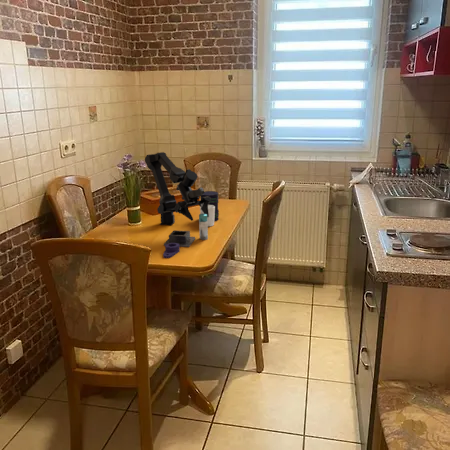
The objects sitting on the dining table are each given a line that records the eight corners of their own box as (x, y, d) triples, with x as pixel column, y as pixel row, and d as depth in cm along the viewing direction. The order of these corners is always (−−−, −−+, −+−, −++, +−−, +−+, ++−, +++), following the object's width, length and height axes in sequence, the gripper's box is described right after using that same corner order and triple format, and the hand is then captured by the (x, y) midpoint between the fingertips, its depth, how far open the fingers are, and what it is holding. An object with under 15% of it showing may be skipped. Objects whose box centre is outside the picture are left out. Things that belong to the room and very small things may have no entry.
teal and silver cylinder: (198, 239, 220) (198, 215, 217) (200, 237, 224) (200, 213, 221) (206, 240, 220) (206, 216, 216) (208, 237, 224) (208, 213, 220)
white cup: (217, 223, 247) (216, 205, 244) (212, 227, 240) (212, 208, 237) (203, 222, 249) (202, 204, 246) (198, 226, 242) (197, 207, 239)
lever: (168, 249, 209) (167, 242, 208) (181, 249, 208) (181, 243, 207) (159, 258, 198) (158, 251, 197) (173, 259, 197) (173, 252, 196)
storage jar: (219, 217, 258) (219, 191, 254) (217, 222, 249) (217, 195, 244) (202, 216, 259) (201, 191, 255) (199, 221, 250) (198, 195, 245)
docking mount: (163, 245, 213) (163, 236, 211) (171, 237, 224) (170, 228, 223) (188, 247, 210) (188, 237, 209) (195, 238, 222) (194, 229, 220)
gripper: (176, 185, 215) (190, 212, 210) (208, 180, 226) (222, 206, 221) (168, 198, 223) (181, 225, 218) (199, 193, 234) (213, 218, 229)
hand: (200, 218), depth 221 cm, fingers open, 9 cm apart
